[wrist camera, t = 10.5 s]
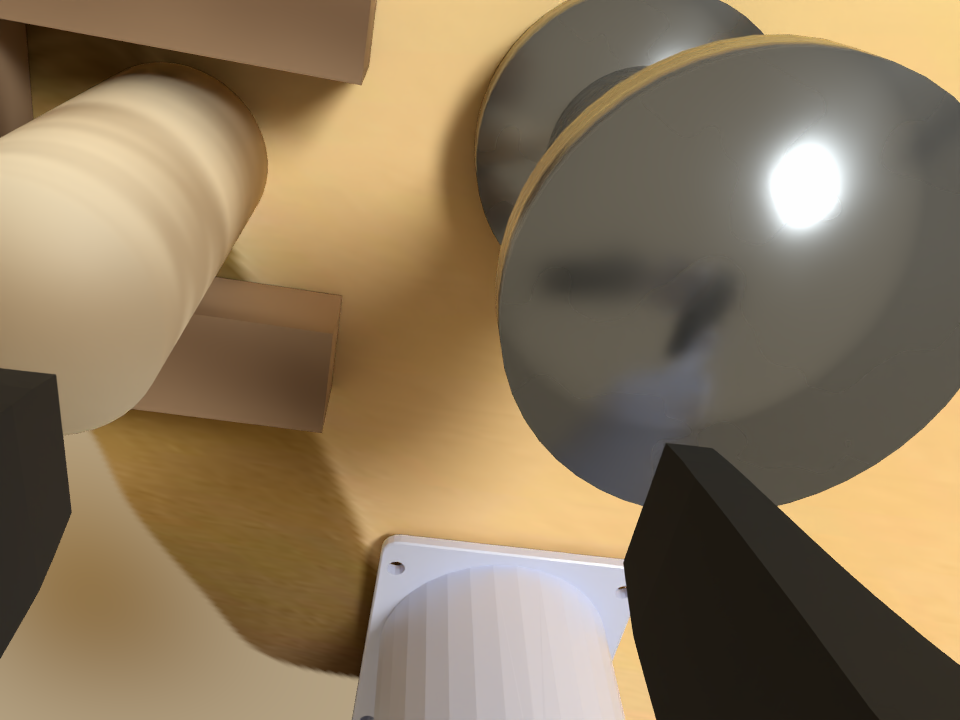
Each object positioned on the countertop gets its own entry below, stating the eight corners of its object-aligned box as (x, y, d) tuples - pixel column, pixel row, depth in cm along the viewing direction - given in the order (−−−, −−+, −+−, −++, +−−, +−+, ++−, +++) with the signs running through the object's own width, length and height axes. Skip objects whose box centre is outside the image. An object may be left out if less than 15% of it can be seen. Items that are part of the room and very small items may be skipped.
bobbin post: (720, 307, 21) (878, 536, 13) (450, 265, 20) (458, 486, 12) (829, 17, 17) (1123, 106, 10) (509, -51, 16) (568, -9, 9)
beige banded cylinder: (261, 253, 19) (162, 452, 12) (87, 224, 19) (-120, 416, 12) (274, 82, 17) (164, 205, 10) (79, 45, 17) (-172, 148, 10)
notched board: (330, 389, 21) (321, 433, 19) (-164, 323, 20) (-223, 364, 18) (385, -78, 16) (379, -74, 14) (-287, -221, 14) (-387, -237, 13)
